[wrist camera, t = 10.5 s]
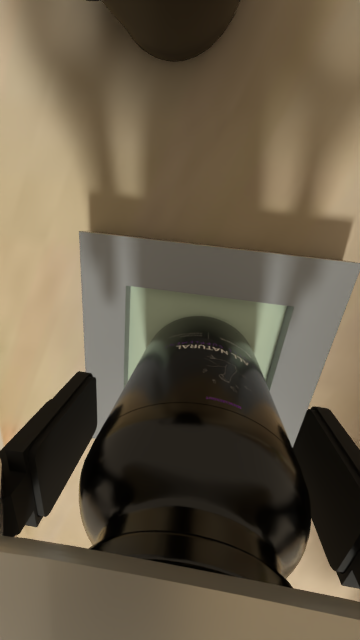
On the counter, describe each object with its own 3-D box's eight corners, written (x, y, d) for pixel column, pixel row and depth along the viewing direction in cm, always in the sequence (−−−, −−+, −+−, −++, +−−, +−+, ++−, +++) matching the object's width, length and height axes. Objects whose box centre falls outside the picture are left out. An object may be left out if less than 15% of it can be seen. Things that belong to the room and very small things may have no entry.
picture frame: (342, 260, 12) (362, 263, 11) (277, 449, 17) (284, 469, 16) (93, 232, 13) (79, 231, 12) (98, 420, 18) (88, 437, 16)
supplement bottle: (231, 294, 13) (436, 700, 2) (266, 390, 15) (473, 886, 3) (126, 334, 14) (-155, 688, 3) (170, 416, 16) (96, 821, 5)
